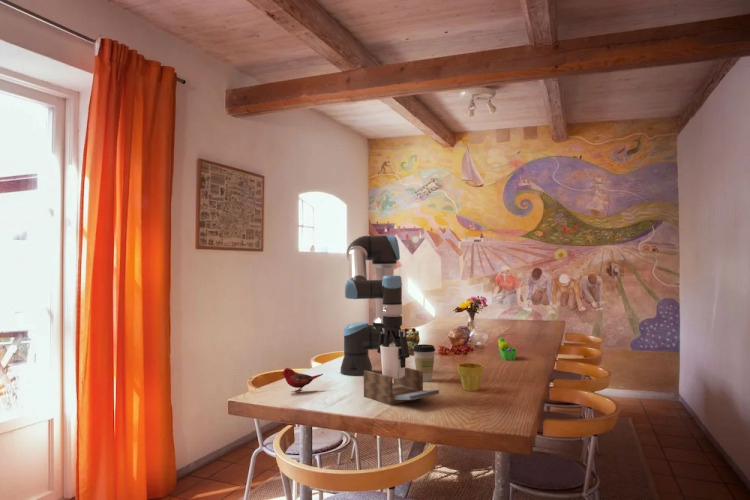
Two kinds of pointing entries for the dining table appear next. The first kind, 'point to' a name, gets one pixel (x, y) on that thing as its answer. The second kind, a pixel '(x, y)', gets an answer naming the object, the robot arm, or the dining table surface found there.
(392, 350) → the candle holder
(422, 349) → the coffee cup
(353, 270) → the robot arm
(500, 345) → the fruit basket
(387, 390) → the small wooden shelf
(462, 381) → the plant pot
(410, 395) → the pale grey panel
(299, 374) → the decorative bird figurine
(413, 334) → the decorative figurine
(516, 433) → the dining table surface
